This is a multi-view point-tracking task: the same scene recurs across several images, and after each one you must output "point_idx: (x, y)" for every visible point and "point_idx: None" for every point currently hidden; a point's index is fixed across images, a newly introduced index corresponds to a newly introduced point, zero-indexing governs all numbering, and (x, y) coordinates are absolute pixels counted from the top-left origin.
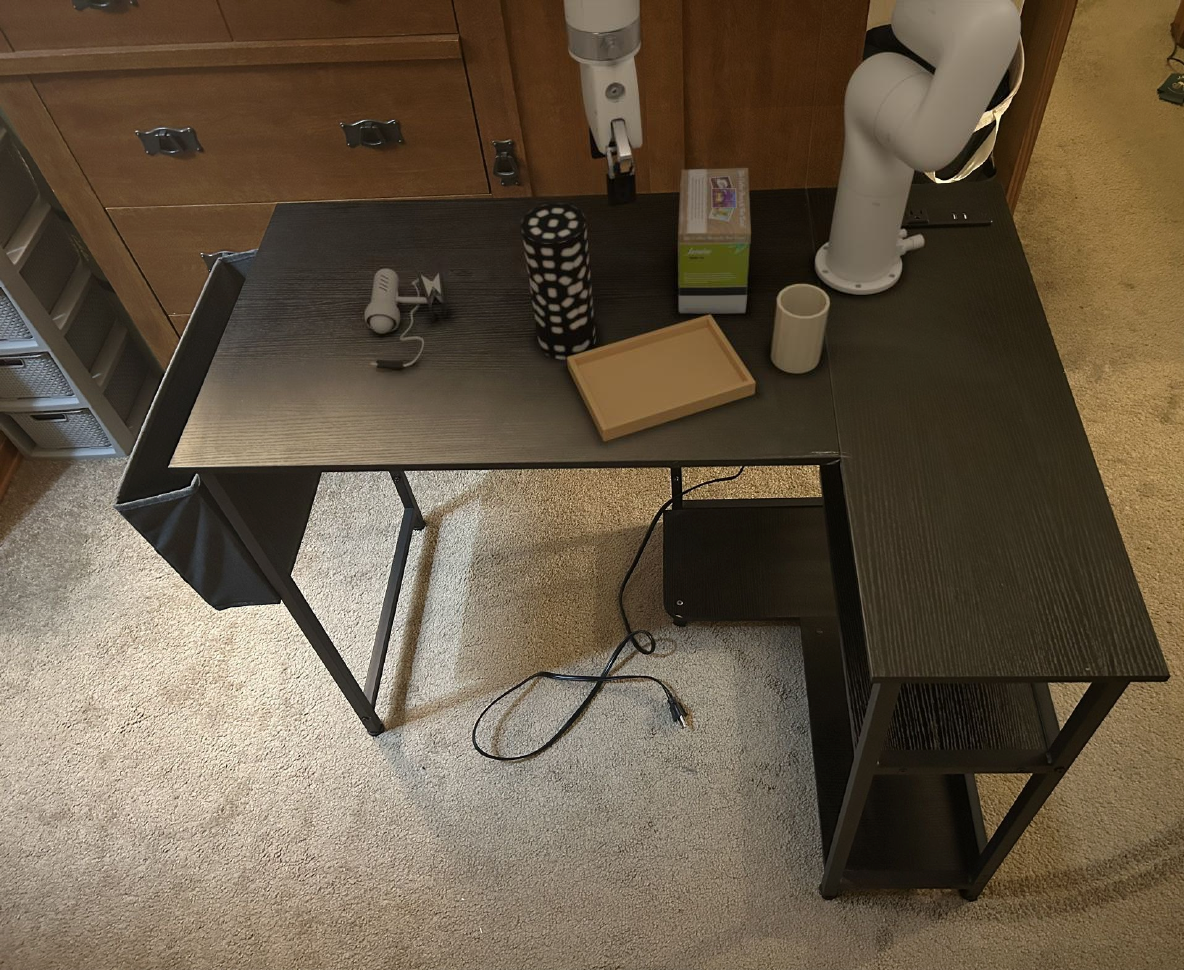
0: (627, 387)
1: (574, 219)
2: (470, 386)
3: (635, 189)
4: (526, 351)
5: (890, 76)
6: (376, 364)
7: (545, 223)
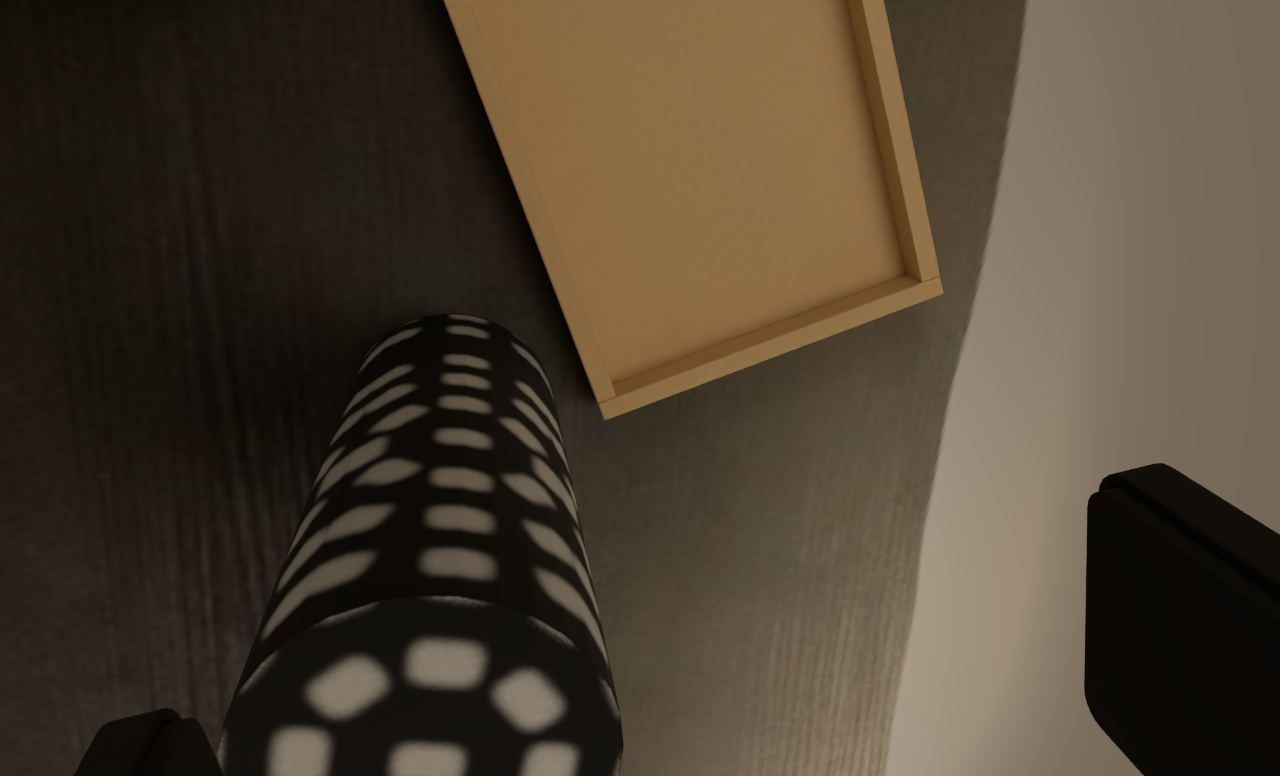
0: (724, 205)
1: (392, 660)
2: (648, 663)
3: (1270, 536)
4: None
5: None
6: None
7: None
